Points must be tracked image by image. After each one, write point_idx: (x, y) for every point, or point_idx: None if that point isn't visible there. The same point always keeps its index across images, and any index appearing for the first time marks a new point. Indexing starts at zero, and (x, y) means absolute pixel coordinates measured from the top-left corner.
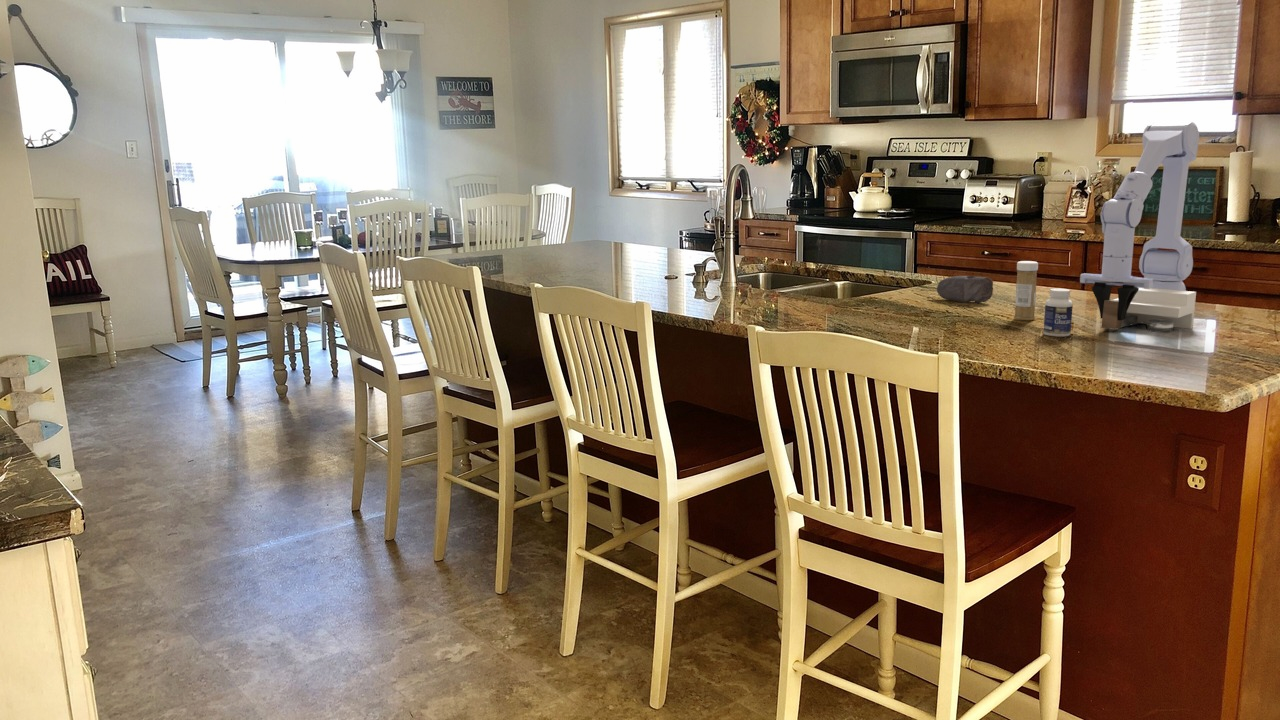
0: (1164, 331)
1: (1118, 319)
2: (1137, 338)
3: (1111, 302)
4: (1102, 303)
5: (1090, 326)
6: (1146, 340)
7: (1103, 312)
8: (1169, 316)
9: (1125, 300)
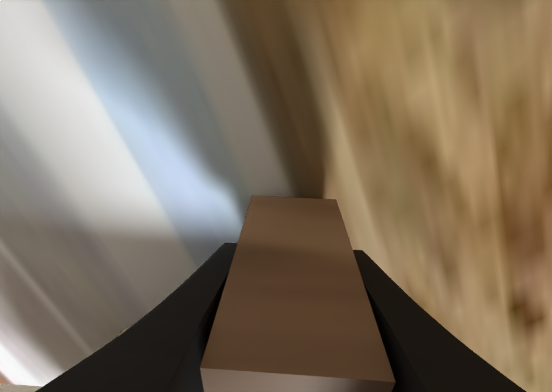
0: (123, 331)
1: (236, 245)
2: (95, 110)
3: (289, 351)
4: (395, 331)
5: (417, 286)
6: (27, 80)
7: (351, 262)
8: (35, 388)
9: (66, 372)
